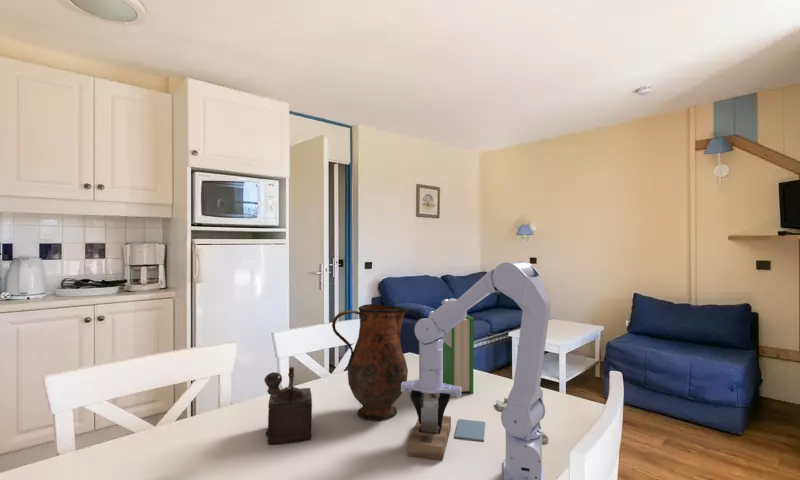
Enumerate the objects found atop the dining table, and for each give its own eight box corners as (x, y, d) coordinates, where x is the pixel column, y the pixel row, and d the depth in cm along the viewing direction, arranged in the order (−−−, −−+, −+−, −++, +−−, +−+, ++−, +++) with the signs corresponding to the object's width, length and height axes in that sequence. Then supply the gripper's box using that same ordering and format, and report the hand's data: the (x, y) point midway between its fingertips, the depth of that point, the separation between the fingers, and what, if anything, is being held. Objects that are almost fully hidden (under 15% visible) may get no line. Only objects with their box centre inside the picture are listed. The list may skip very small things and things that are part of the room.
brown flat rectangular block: (442, 460, 88) (442, 446, 88) (407, 455, 90) (407, 442, 90) (450, 428, 104) (451, 416, 104) (420, 424, 106) (420, 412, 106)
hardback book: (473, 393, 128) (473, 318, 128) (451, 395, 126) (451, 319, 127) (454, 375, 145) (454, 309, 145) (434, 376, 144) (434, 309, 144)
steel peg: (437, 443, 95) (437, 409, 95) (421, 441, 96) (421, 407, 96) (440, 435, 99) (440, 402, 99) (424, 433, 100) (424, 401, 100)
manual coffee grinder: (267, 426, 105) (267, 357, 105) (310, 421, 107) (311, 354, 108) (262, 457, 90) (263, 376, 90) (313, 451, 92) (313, 372, 92)
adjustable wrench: (551, 445, 96) (551, 438, 96) (525, 446, 96) (525, 439, 96) (513, 403, 121) (513, 397, 121) (492, 403, 121) (492, 397, 121)
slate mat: (483, 441, 97) (483, 439, 97) (454, 437, 99) (454, 436, 99) (485, 423, 107) (485, 421, 107) (458, 420, 109) (458, 418, 109)
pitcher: (415, 422, 107) (415, 310, 107) (334, 432, 102) (335, 313, 102) (399, 399, 123) (399, 301, 123) (328, 406, 118) (329, 303, 118)
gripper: (462, 364, 99) (462, 419, 99) (405, 360, 103) (405, 413, 103) (459, 373, 93) (459, 432, 93) (398, 368, 96) (398, 425, 96)
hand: (430, 423), depth 97 cm, fingers closed on steel peg, 4 cm apart
